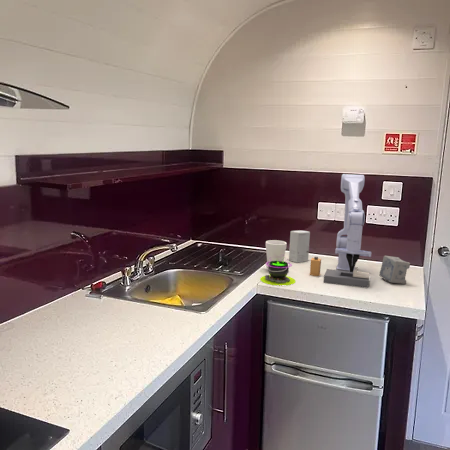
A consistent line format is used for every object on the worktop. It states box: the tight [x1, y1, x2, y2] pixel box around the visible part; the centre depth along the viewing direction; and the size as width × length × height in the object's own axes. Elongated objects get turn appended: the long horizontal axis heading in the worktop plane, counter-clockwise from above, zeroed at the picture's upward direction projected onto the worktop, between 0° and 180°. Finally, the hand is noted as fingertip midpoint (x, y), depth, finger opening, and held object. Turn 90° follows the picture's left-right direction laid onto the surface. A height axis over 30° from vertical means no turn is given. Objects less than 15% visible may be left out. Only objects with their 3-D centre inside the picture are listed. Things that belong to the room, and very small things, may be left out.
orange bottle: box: [309, 256, 322, 277], centre depth 208 cm, size 4×4×8 cm
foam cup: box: [265, 239, 288, 267], centre depth 212 cm, size 10×9×13 cm
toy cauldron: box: [259, 254, 296, 287], centre depth 197 cm, size 15×15×11 cm
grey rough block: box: [379, 255, 411, 285], centre depth 201 cm, size 10×8×10 cm
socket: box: [323, 268, 370, 289], centre depth 199 cm, size 11×18×3 cm, turn 71°
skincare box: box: [288, 229, 311, 264], centre depth 230 cm, size 8×6×15 cm
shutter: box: [353, 266, 371, 280], centre depth 197 cm, size 7×7×3 cm
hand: (351, 271), depth 198 cm, fingers closed
